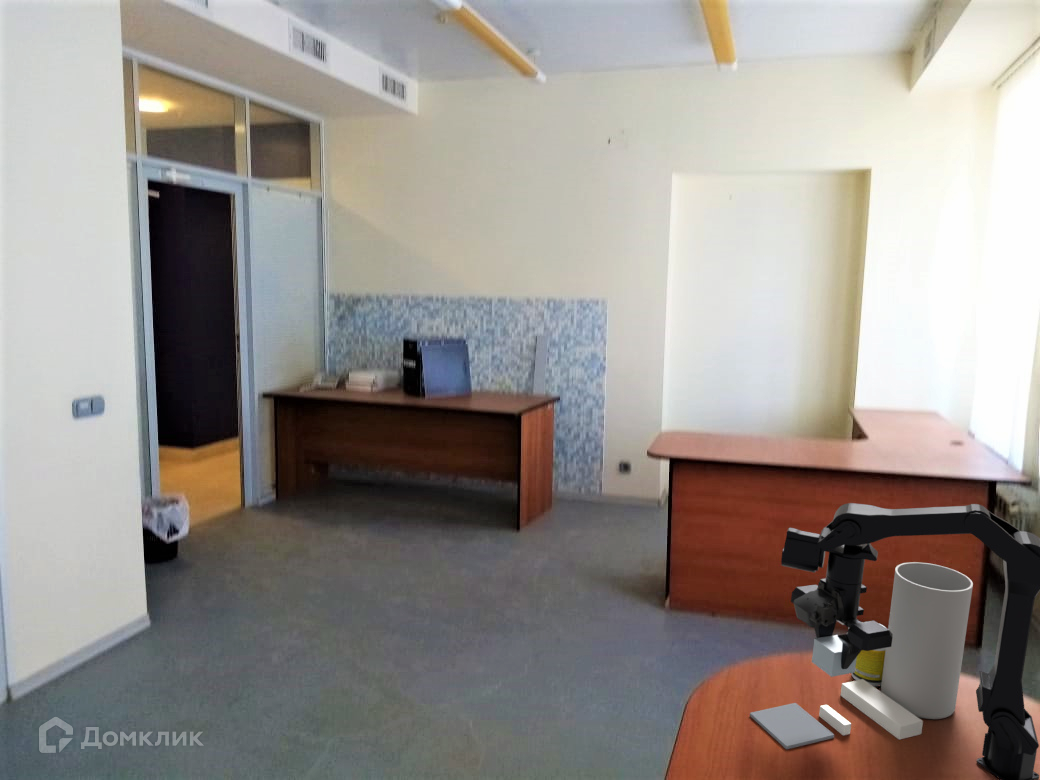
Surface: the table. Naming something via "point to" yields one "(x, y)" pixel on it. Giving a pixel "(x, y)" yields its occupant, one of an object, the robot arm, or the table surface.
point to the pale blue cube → (830, 656)
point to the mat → (791, 725)
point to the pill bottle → (870, 666)
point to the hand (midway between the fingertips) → (833, 660)
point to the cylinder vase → (926, 638)
